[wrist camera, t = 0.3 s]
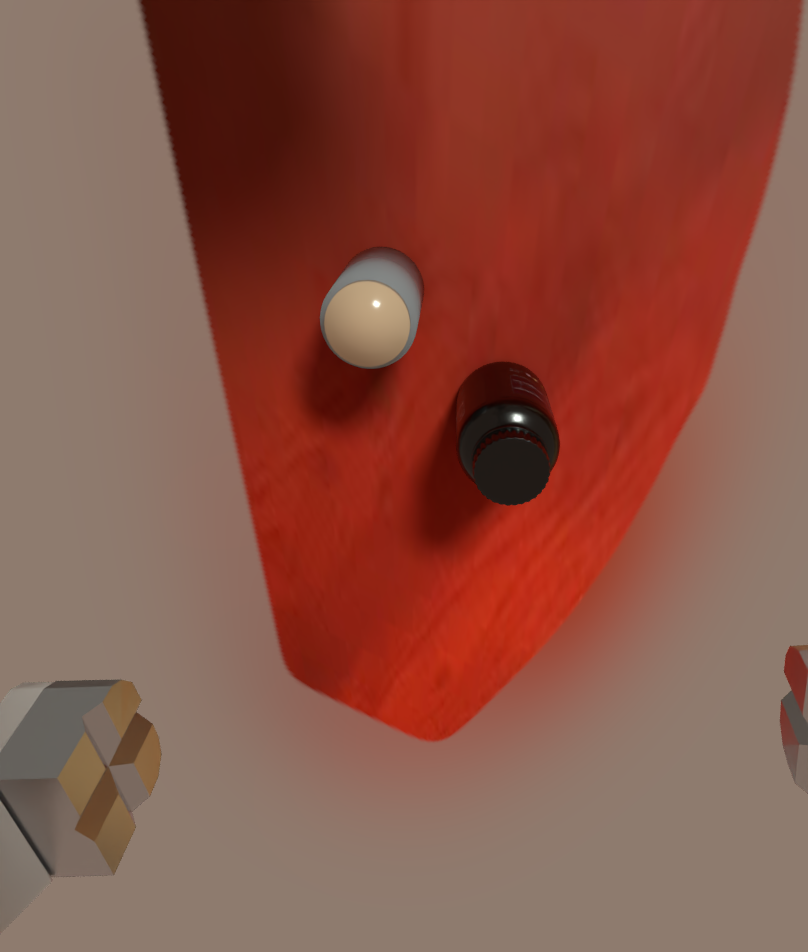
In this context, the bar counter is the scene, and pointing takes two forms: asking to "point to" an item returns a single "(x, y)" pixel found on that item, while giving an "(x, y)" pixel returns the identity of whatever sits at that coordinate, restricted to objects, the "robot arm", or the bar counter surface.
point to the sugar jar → (373, 308)
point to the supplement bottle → (506, 432)
